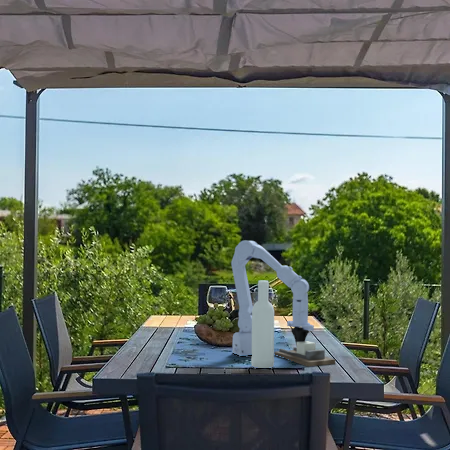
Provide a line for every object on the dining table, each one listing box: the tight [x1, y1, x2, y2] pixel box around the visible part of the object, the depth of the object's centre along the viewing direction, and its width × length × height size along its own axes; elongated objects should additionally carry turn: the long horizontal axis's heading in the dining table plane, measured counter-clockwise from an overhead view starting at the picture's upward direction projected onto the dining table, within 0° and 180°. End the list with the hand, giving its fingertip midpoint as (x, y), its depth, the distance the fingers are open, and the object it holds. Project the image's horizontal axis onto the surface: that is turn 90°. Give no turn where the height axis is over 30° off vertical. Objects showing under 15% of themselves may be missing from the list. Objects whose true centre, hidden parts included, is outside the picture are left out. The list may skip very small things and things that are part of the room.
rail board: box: [274, 346, 336, 367], centre depth 220 cm, size 12×22×4 cm, turn 28°
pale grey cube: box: [296, 340, 317, 356], centre depth 219 cm, size 5×5×5 cm
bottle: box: [250, 279, 275, 368], centre depth 206 cm, size 8×8×30 cm
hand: (300, 347), depth 222 cm, fingers closed
